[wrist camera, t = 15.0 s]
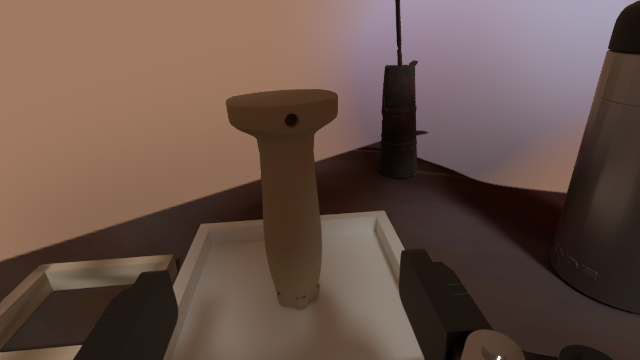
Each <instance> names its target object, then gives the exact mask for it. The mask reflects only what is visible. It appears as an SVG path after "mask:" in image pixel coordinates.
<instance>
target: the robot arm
mask: <svg viewBox="0 0 640 360" xmlns="http://www.w3.org/2000/svg"><path fill="white" fill-rule="evenodd" d="M608 49H610V50H608V51H607V53H606V57H605V60H604V64H603V67H602V71H601V74H600V78H599V81H598V85H597V88H596V92H595V96H594V100H593V103H592V107H591V110H590V114H589V117H588V121H587V124H586V128H585V131H584V135H583V138H582V142H581V145H580V149H579V152H578V156H577V160H576V163H575V167H574V170H573V174H572V177H571V181H570V184H569V188H568V191H567V195H566V198H565V202H564V205H563V209H562V212H561V216H560V219H559V223H558V226H557V230H556V233H555V237H554V241H553V244H552V248H551V252H550V255H549V259H550V263H551V265H552V267H553V268H554V270H555V271H556V272H557V273H558V274H559V276H560V277H561V278H562V279H564V280H565V281H566V282H567V283H569V284H570V285H571V286H573V287H574V288H576V289H578V290H579V291H581V292H582V293H584V294H586V295H588V296H590V297H592V298H594V299H596V300H598V301H600V302H603V303H605V304H608V305H611V306H613V307H616V308H619V309H623V310H626V311H630V312H633V313H639V314H640V1H637V2H635V3H633V4H631V5H629V6H627V7H626V8H625V9H624V10H623V11H622V12H621V13H620V15H619V17H618V18H617V20H616V23H615V26H614V29H613V32H612V36H611V39H610V43H609V47H608ZM399 294H400V299H401V303H402V305H403V308H404V310H405V313H406V315H407V317H408V320H409V322H410V325H411V327H412V330H413V332H414V335H415V337H416V339H417V342H418V344H419V347H420V349H421V352H422V354H423V356H424V359H425V360H613V359H612V358H610V357H609V356H607V355H605V354H604V353H602V352H600V351H598V350H596V349H593V348H590V347H587V346H582V345H569V346H567V347H565V348H563V349H562V350H561V352H560V355H559V358H557V357H552V356H546V355H541V354H535V353H530V352H526V351H523V350H521V349H520V347H519V346H518V345H517V344H516V343H515V342H514V341H513V340H511V339H510V338H509V337H507V336H505V335H503V334H501V333H499V332H496V331H494V330H493V329H492V327H491V326H490V324H489V323H488V321H487V320H486V319H485V317H484V316H483V314H482V313H481V311H480V310H479V308H478V307H477V305H476V304H475V302H474V301H473V299H472V298H471V296H470V295H469V294H468V292H467V290H466V289H465V287H464V286H463V285H462V284H461V281H460V280H459V278H458V277H457V276H456V274H455V273H454V271H453V270H451V269H450V268H449V267H447V266H446V265H445V264H443V263H442V262H434V263H433V262H432V260H431V258H430V257H429V255H428V253H427V252H426V250H425V249H412V250H403V251H402V252H401V258H400V273H399ZM177 320H178V304H177V300H176V297H175V293H174V290H173V286H172V282H171V279H170V275H169V273H168V271H167V270H159V271H147V272H142V273H140V275H139V276H138V278H137V280H136V281H135V283H134V285H133V286H132V288H131V289H124V290H123V291H122V292H121V293H120V294H118V295H117V296H116V297H115V298H114V299H113V300H111V301H110V303H109V305H108V306H107V308H106V309H105V311H104V312H103V314H102V317H100V318H99V320H98V322H97V323H96V325H95V328H94V329H92V331H91V332H90V334H89V336H88V337H87V339H86V340H85V342H84V343H83V345H82V346H81V348H80V349H79V351H78V353H77V354H76V356H75V357H74V359H73V360H163V358H164V356H165V353H166V350H167V348H168V345H169V342H170V340H171V337H172V334H173V332H174V329H175V326H176V324H177Z"/></svg>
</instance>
